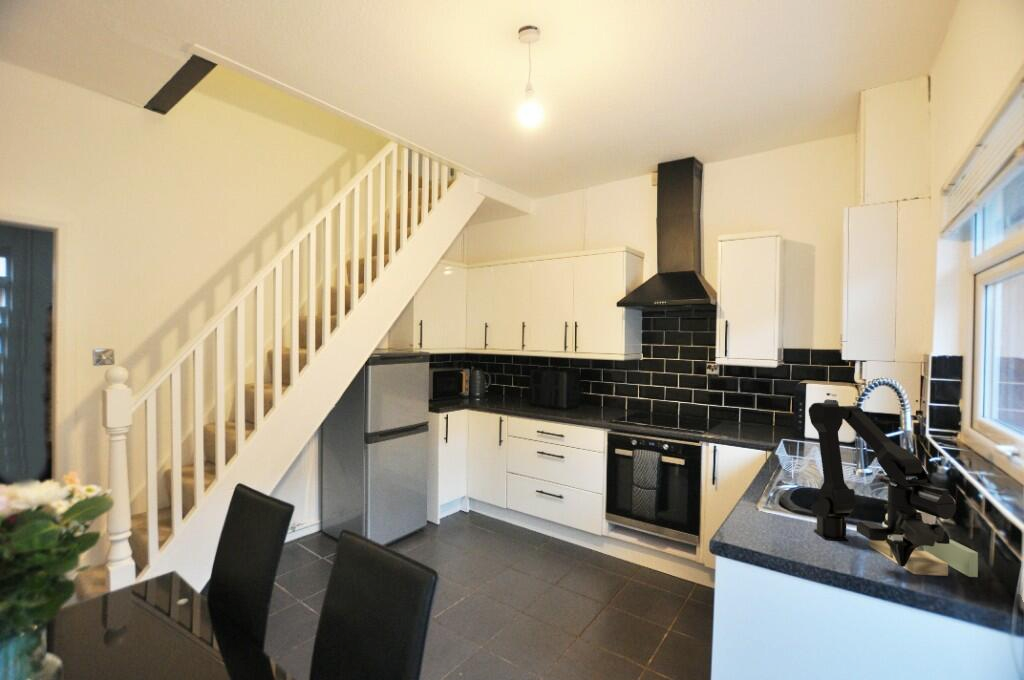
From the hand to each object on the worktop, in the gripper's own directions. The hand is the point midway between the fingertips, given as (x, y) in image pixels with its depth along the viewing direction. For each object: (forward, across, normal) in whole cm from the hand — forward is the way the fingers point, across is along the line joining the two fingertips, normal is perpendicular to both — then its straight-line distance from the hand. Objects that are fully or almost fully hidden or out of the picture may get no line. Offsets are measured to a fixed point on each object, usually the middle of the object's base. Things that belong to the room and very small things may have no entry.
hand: (901, 565), depth 118 cm
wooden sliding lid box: (+1, +5, +6) cm, 8 cm away
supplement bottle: (+1, +5, +10) cm, 11 cm away
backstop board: (+1, +15, +5) cm, 16 cm away
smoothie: (+1, +20, +20) cm, 29 cm away
